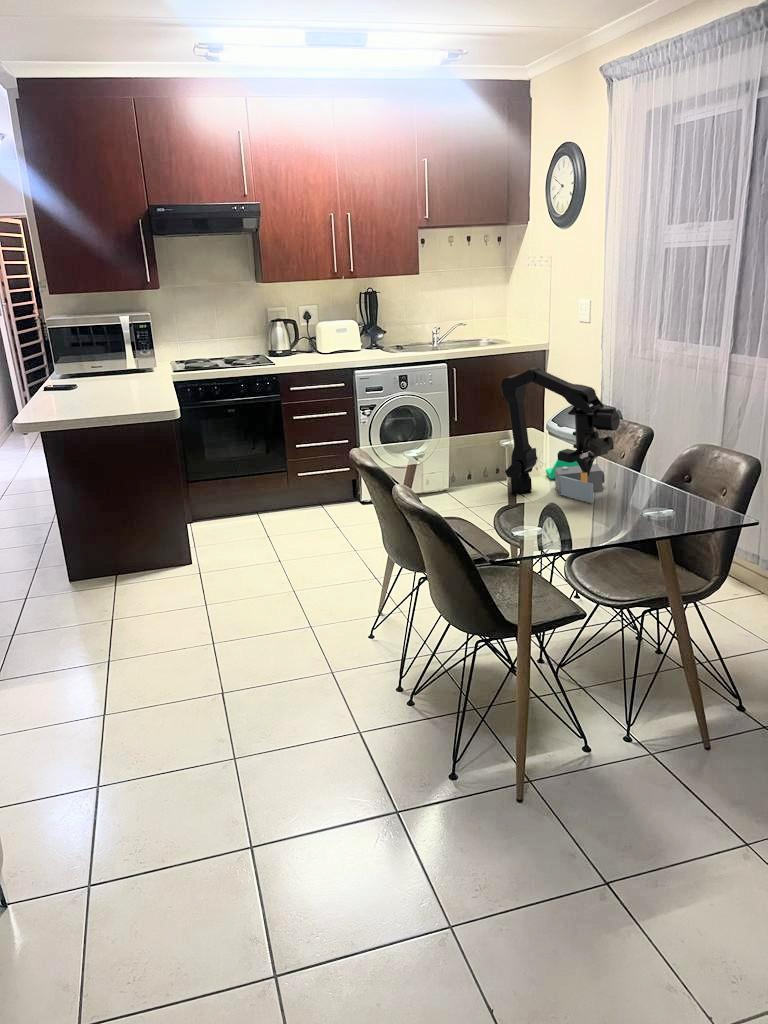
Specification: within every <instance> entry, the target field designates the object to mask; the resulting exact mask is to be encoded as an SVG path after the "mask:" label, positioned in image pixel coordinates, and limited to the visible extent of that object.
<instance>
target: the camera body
mask: <svg viewBox="0 0 768 1024" xmlns="http://www.w3.org/2000/svg"><path fill="white" fill-rule="evenodd" d="M581 472H582V470H581V468H580V466H570V467H559V468H555V478H554V482H555V489H556V491H557V490H558V491H557V493H558V492H559V476H564V477H568V478H572V479H576V480H580V481H581ZM605 479H606V478H605V473H604V471H603V470H602V469H601V467H600V466H599V465H598V463H596V464H595V463H593V464H592V467H591V470H590V473H589V476H588V477H587V482H589V483H593V491H596V492H603V484H604V483H605Z"/></svg>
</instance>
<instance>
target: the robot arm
mask: <svg viewBox="0 0 768 1024" xmlns="http://www.w3.org/2000/svg"><path fill="white" fill-rule="evenodd" d="M531 383H534V384H536V385H538V386H540V387H542V388H544V389H546V390H548V391H551V392H552V393H554V394H556V395H559V396H561V397H562V398H564V400H565V401H566V402H567V403H568V404H570V405H571V406H572V408H571V410H570V411H568V413H567V414H568V415H569V416H570V415H571V416H574V425H575V426H574V427H575V428H574V429H575V431H572V435H573V436H575V444H573V446H572V447H573V449H570V448H564V449H565V450H563V449H561V450H562V451H561V450H559V451H558V452H557V459H558V460H560V461H564V462H568V463H572V462H575V461H577V463H578V464H579V466H580V468H581V470H582V471H583V472H587V477H588V476H589V473H590V470H591V467H592V464H594V461H595V460H596V459H597V458H598V457H601V456H603V455H608V454H609V452H610V451H611V450H614V448H615V446H614V440H613V437H611V436H610V435H609V436H605V437H600V436H599V433H598V431H611V432H612V431H614V432H615V431H617V430H618V429H619V426H620V423H621V417H620V415H619V413H618V412H617V408H616V407H605V405H604V404H603V402H602V401H601V400H600V398H599V397H598V396H597V393H596V389H594V387H591V386H587V385H584V384H579V383H578V384H577V383H571V382H568V381H566V380H565V379H562V378H560V377H558V376H556V375H554V374H552V373H549V372H547V371H544V370H542V369H541V368H540V367H535V366H534V367H532V368H529V369H527V370H526V371H525V372H523V373H520V374H518V373H516V374H513V375H510V376H507V377H504V378H503V379H502V381H501V382H500V390H501V394H502V397H503V399H504V400H505V401H506V403H507V404H508V411H509V417H510V425H511V432H512V433H511V434H512V440H513V450H512V452H511V458H510V459H511V462H510V463H511V464H510V465H509V467H508V468H507V469H506V470H505V471H504V473H505V475H506V477H507V478H509V481H510V484H509V485H510V488H509V490H510V493H511V496H512V495H513V496H514V495H525V494H532V490H533V487H532V486H533V485H532V484H533V483H532V477H531V476H530V473H531V472H532V471H533V468H534V467H535V466H536V464H537V460H538V459H539V458H538V456H537V448H536V447H532V446H531V445H530V442H529V434H528V428H527V421H526V420H527V419H526V412H525V405H524V400H525V398H526V393H527V385H530V384H531ZM595 429H596V430H595ZM597 430H598V431H597Z"/></svg>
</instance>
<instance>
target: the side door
mask: <svg viewBox="0 0 768 1024" xmlns="http://www.w3.org/2000/svg"><path fill="white" fill-rule="evenodd" d="M559 494H560V495H559ZM558 495H559V496H562V495H564V496H563V497H566V496H567V498H570V499H573V498H574V500H577V501H578V500H579V501H582V502H584V501H586V502H585V503H588V502H590V503H589V504H594V503H593V502H595V501H594V492H593V483H589V482H587V472H583V471H582V472H581V481H580V480H576V479H572V478H568V477H564V476H559V493H558Z"/></svg>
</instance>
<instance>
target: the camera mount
mask: <svg viewBox="0 0 768 1024" xmlns="http://www.w3.org/2000/svg"><path fill="white" fill-rule="evenodd" d="M565 449H566V448H563V449H561V450H560V451H562V450H565ZM570 466H579V464H578V463H577V461H575V462H572V463H568V462H564V461H560V460H558V458H557V459H556V461H555V463H554V465H553V467H549V468H546V469H545V473H546V475H547V476H548V477H549V479H551V480H553V479H555V468H559V467H570Z"/></svg>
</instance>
